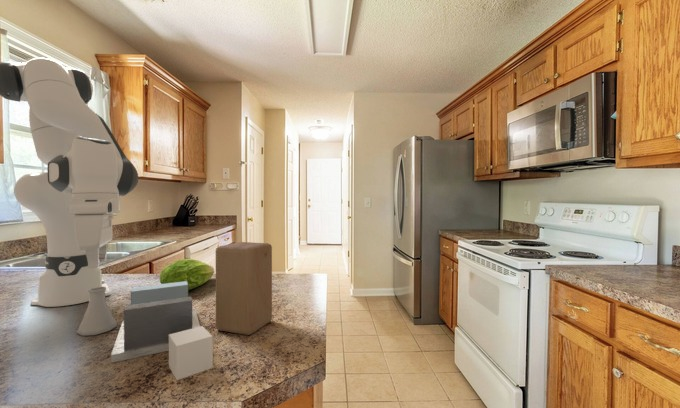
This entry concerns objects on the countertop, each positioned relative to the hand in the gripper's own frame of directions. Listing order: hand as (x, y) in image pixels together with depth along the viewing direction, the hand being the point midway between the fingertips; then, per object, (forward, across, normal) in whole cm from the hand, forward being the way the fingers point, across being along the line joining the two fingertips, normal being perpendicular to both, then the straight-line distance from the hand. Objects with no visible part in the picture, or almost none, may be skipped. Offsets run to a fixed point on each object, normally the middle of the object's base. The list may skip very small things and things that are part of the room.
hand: (97, 264), depth 72 cm
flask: (+16, -1, 0) cm, 16 cm away
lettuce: (+16, -31, +22) cm, 41 cm away
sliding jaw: (+14, +3, +13) cm, 19 cm away
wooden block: (+17, +14, +30) cm, 38 cm away
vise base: (+16, +11, +12) cm, 23 cm away
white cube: (+17, +28, +18) cm, 37 cm away
